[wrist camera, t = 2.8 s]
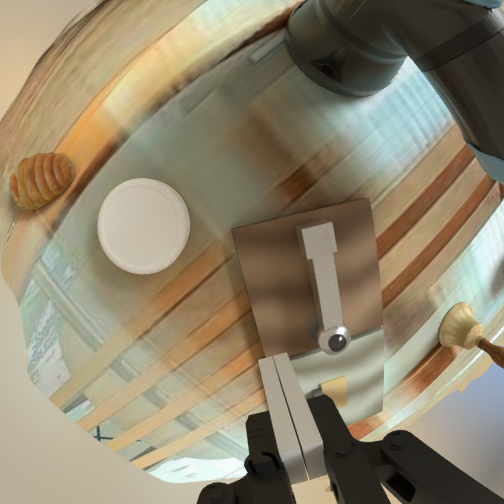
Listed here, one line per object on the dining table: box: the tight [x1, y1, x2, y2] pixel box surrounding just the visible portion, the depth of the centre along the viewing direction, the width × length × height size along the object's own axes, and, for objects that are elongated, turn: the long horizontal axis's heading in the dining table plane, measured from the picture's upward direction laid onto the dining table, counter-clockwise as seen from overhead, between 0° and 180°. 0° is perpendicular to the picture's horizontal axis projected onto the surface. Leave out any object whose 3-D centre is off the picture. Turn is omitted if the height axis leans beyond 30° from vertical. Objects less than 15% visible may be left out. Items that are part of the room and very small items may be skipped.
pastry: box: [9, 153, 74, 210], centre depth 26 cm, size 9×7×4 cm
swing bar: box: [295, 220, 351, 355], centre depth 30 cm, size 15×4×4 cm, turn 14°
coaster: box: [97, 178, 190, 274], centre depth 29 cm, size 10×10×4 cm
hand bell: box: [439, 302, 504, 368], centre depth 30 cm, size 8×8×16 cm
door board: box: [231, 198, 384, 426], centre depth 33 cm, size 34×16×4 cm, turn 14°
